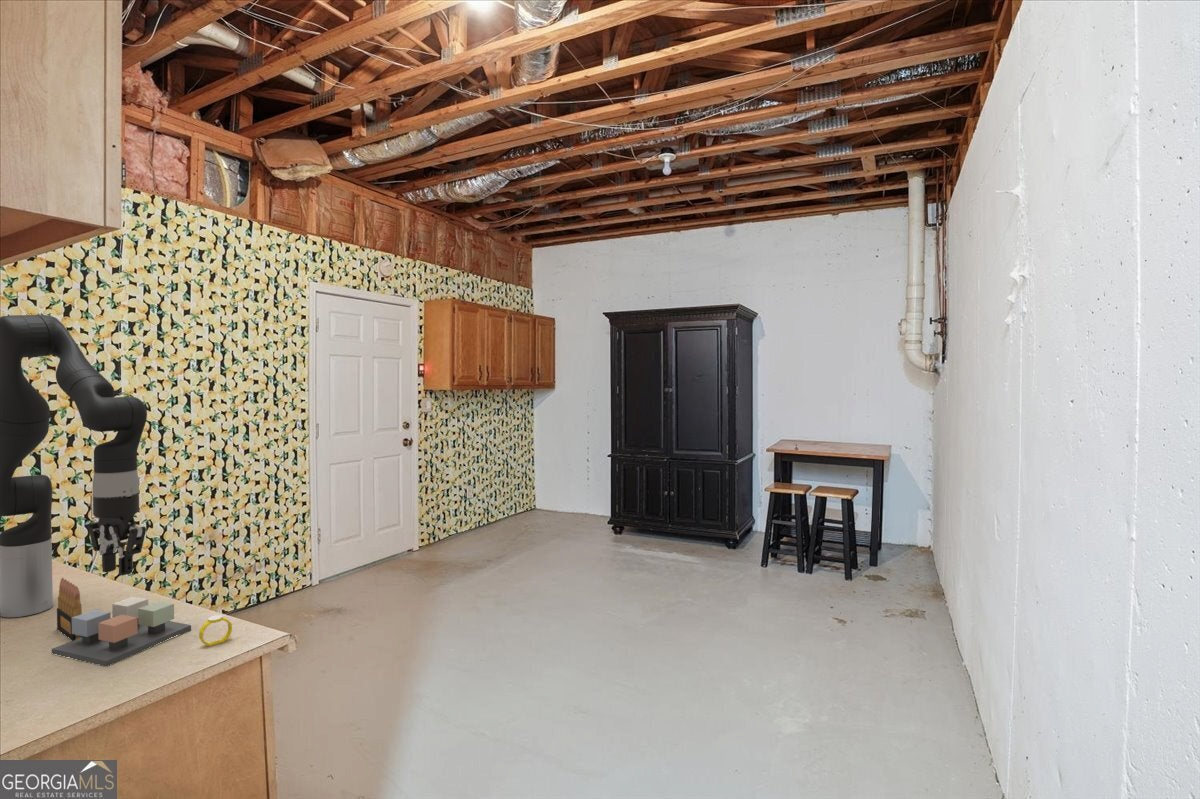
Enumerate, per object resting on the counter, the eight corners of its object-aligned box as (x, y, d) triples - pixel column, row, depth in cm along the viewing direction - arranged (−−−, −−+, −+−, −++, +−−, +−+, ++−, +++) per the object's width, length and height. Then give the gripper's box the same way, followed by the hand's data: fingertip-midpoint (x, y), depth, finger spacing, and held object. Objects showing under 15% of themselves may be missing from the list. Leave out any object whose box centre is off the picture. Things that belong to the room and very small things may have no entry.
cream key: (112, 618, 133) (112, 603, 133) (133, 611, 138) (133, 596, 138) (127, 621, 132) (126, 606, 132) (148, 613, 136) (148, 599, 136)
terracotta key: (98, 639, 123) (98, 622, 123) (122, 630, 128) (121, 614, 128) (114, 642, 122) (114, 626, 122) (137, 633, 126) (137, 617, 126)
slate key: (71, 633, 126) (71, 617, 125) (95, 625, 130) (95, 609, 130) (87, 636, 124) (86, 620, 124) (110, 628, 129) (110, 612, 129)
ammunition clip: (84, 638, 131) (83, 585, 130) (73, 641, 129) (72, 588, 129) (67, 626, 137) (66, 575, 136) (56, 629, 135) (55, 578, 135)
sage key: (138, 624, 131) (138, 608, 131) (159, 616, 135) (158, 601, 135) (153, 627, 130) (153, 611, 129) (174, 618, 134) (173, 603, 134)
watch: (203, 651, 127) (200, 624, 127) (199, 646, 129) (196, 620, 128) (234, 639, 132) (231, 614, 131) (229, 636, 134) (227, 610, 133)
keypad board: (51, 654, 124) (51, 636, 124) (140, 620, 141) (140, 604, 141) (106, 666, 119) (106, 647, 119) (191, 630, 136) (191, 613, 136)
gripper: (72, 492, 122) (73, 574, 123) (121, 498, 118) (123, 582, 119) (111, 486, 129) (112, 563, 130) (159, 491, 125) (160, 571, 126)
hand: (117, 572), depth 124 cm, fingers open, 4 cm apart
